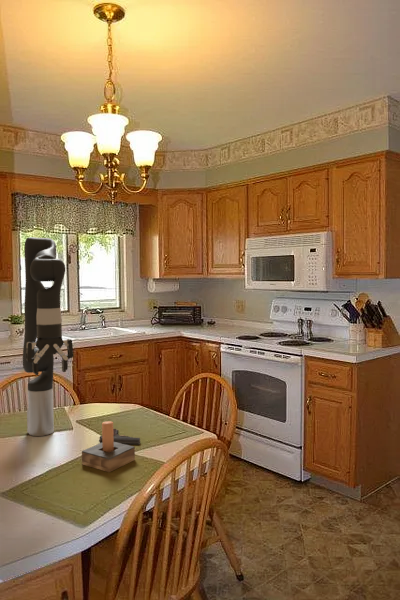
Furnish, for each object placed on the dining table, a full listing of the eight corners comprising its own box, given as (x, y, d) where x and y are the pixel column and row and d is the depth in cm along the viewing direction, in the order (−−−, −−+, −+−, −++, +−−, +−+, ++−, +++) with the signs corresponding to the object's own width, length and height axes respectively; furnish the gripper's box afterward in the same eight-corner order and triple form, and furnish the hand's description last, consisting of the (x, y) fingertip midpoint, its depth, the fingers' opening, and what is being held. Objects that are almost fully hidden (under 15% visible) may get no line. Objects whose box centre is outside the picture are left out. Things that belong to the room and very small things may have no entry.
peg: (100, 459, 159) (99, 423, 158) (108, 456, 162) (107, 420, 161) (108, 462, 157) (107, 425, 156) (116, 458, 160) (115, 422, 159)
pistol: (144, 436, 186) (139, 447, 174) (105, 435, 187) (97, 445, 175) (144, 428, 186) (139, 438, 174) (105, 427, 187) (97, 437, 175)
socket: (82, 464, 157) (81, 451, 157) (108, 452, 167) (107, 440, 167) (109, 472, 151) (109, 458, 151) (134, 459, 161) (134, 446, 161)
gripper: (68, 320, 160) (69, 368, 161) (23, 322, 153) (24, 373, 154) (74, 322, 154) (76, 372, 155) (28, 324, 147) (29, 377, 148)
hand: (50, 373), depth 154 cm, fingers open, 8 cm apart
